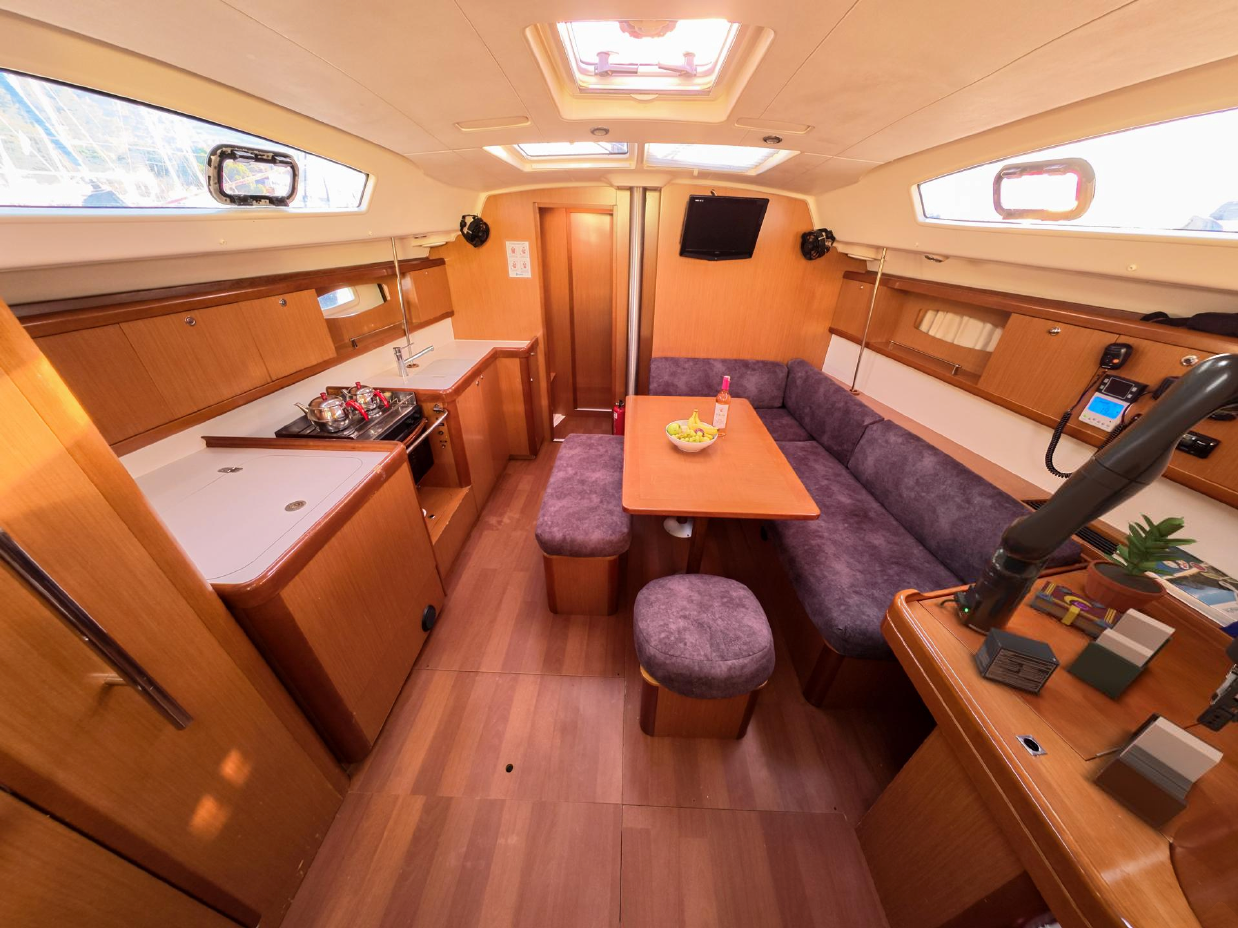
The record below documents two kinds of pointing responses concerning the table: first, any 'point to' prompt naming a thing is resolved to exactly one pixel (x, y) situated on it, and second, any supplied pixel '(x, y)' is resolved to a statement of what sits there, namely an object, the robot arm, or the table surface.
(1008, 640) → the small box
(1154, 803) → the grey book rack
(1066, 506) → the robot arm
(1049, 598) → the decorative book
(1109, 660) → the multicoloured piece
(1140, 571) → the potted plant
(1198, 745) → the white book
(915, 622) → the table surface
